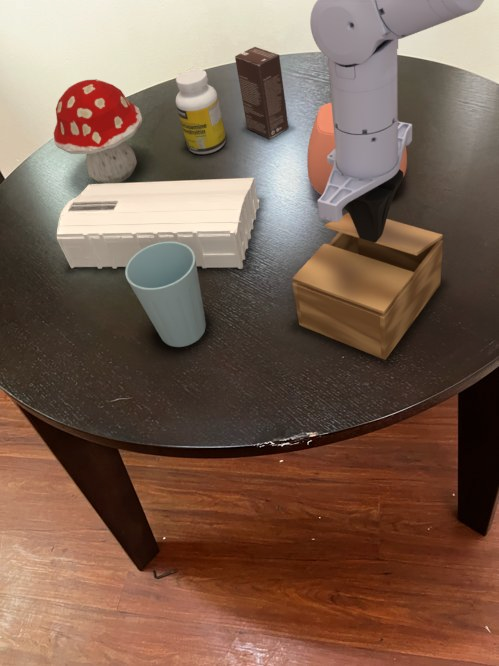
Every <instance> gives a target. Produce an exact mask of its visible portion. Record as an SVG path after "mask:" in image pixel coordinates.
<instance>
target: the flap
mask: <svg viewBox="0 0 499 666" xmlns="http://www.w3.org/2000/svg"><path fill="white" fill-rule="evenodd" d="M324 228H325V229H329V230H332V231H335V232H337V233H339V232H341V233H345V234H348V235H351V236H354V237H358V238H359V236H358V233H357V231H356V228H355V225H354V223H353V221H352V219H351V216H350V214H349V213H348V212H347V213H345V214H342V218H341V219H340V220H339V222H333V221H329V222H327V223H325V224H324ZM443 236H444V235H443V233H438V232H435V231H431V230H428V229H424V228H420V227H417V226H414V225H410V224H406V223H403V222H400V221H396V220H393V219H389V218H387V219H386V223H385V227H384V231H383V233H382V236H381V237H380V238H379V239H378V241H377V242H375V243H377V244H381V245H384V246H387V247H390V248H394V249H397V250H400V251H403V252H407V253H410V254H413V255H416V256H417V255H418V254H420V253H421V252H423V251H424V250H426V249H427V248H428V247H430V246H431V245H433V244H434V243H436V242H437V241H439V240H442V239H443Z"/></svg>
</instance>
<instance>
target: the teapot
mask: <svg viewBox="0 0 499 666" xmlns="http://www.w3.org/2000/svg"><path fill="white" fill-rule="evenodd" d="M398 122H400V121H399V120H398ZM334 149H335V138H334V125H333V115H332V103H331V101H330V102H328V103H325V104H323V105H322V106H321V107H319V109H318V112H317V113H316V117H315V120H314V123H313V126H312V130H311V132H310V137H309V142H308V148H307V157H306V158H307V161H306V162H307V165H306V166H307V175H308V180H309V182H310V185H311V186H312V187H313V190H315V191H316V192H317V193H318V194H319V195H321V196H322V194H323V193H324V191H325V188H326V186H327V183H328V180H329V177H330V174H331V171H332V168H333V165H331V164H329V163H328V161H327V156H328V155H329V154H330V153H331V152H332V151H333V150H334ZM407 152H408V151H407V146H405V147H404V151H403V156H402V160H401V164H400V168H399V169H400V170H401V171H402V172H403V178H405V175H406V171H407V168H408V167H407V166H408V153H407Z"/></svg>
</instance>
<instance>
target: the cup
mask: <svg viewBox="0 0 499 666" xmlns="http://www.w3.org/2000/svg"><path fill="white" fill-rule="evenodd" d="M124 275H125V278H126V279H125V280H127V282H128V284H129V285H130V287H131V289H132V291H133V293H134V294H135V296H136V298H137V299H138V301H139V303H140V304H141V306H142V308H143V310H144V311H145V313H146V314H147V317H148V318H149V321H150V322H151V323H152V325H153V327H154V328H155V331H156V332H157V333H158V336H159V337H160V338H161V340H162V341H163V342H164V343H165V344H166V345H167V346H170V347H173V348H182V347H187V346H191V345H192V344H194V343H196V342H197V341H199V340H200V339H201V338H202V337H203V335H204V334H205V330H206V326H207V323H206V317H205V309H204V304H203V297H202V293H201V287H200V280H199V273H198V266H196V259H195V255H194V252H193V251H192V249H191V248H190V247H188V246H187V245H185V244H182V243H179V242H171V241H170V242H160V243H156V244H153V245H150V246H148V247H145V248H144V249H142V250H140V251H139V252H137V253H136V254H135V255H134V256H133V257H132V258H131V259H130V261H129V262H128V264H127V266H126V267H125V269H124Z"/></svg>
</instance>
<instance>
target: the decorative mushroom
mask: <svg viewBox="0 0 499 666" xmlns="http://www.w3.org/2000/svg"><path fill="white" fill-rule="evenodd" d="M55 114H56V115H55V116H56V124H55V127H54V130H53V139H54V141H53V142H54V145H55V146H56V147H57V148H58V149H59V150H62V151H64V152H66V153H68V154H70V155H86V156H85V164H86V171H87V174H88V176H89V177H90V178H91V179H92V180H95V181H96V182H98V184H111V183H122V182H124V181H125V180H127V179H128V178H130V177H131V176H132V174H133V173H134V172H135V170H136V166H137V164H138V161H137V158H136V154H135V151H134V150H133V148H132V147H131V146H130V145H129V144H128V143H127V142H126V141H127V140H128V139H130V138H132V137H133V136H134V135H135V134H136V132H137V131H138V129H139V128H140V127H141V125H142V124H143V117H142V113H141V111H140V108H139V107H138V106H136V105H135V104H133V103H132V102H130V101H129V100H128V99H127V97H126V95H125V94H124V93H123V91H122V90H121V89H120V88H119V87H117V86H115V85H114V84H111V83H109V82H107V81H104V80H100V79H96V78H95V79H85V80H81V81H77V82H76V83H75V84H73V85H71V86H69V87H67V89H66V90H65V91H64V92H63V94H62V95H61V97H59V98H58V101H57V104H56V107H55Z"/></svg>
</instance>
